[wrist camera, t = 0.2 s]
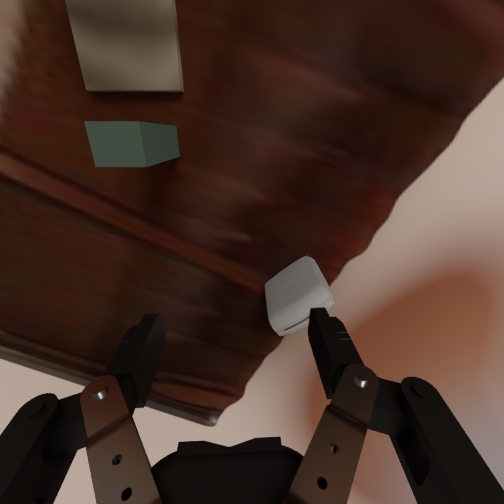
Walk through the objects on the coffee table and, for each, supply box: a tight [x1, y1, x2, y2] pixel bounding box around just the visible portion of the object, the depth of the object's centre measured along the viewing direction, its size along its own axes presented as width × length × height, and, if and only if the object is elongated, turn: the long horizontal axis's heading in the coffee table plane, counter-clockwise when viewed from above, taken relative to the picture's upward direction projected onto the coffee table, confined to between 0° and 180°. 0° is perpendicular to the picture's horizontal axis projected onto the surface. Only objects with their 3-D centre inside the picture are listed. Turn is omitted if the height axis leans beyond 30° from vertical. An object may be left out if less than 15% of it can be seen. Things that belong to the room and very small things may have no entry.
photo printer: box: [265, 256, 335, 336], centre depth 40 cm, size 10×4×12 cm, turn 129°
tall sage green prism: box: [84, 121, 180, 167], centre depth 30 cm, size 4×5×13 cm
